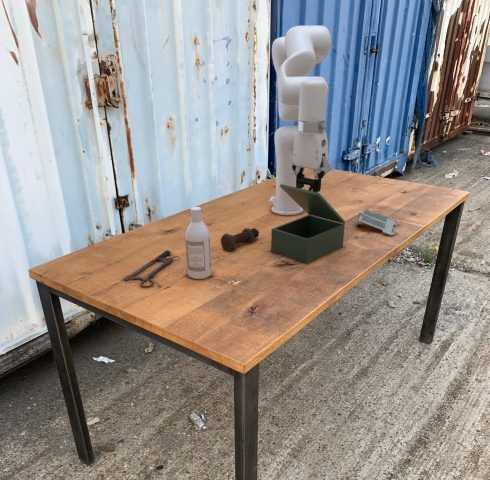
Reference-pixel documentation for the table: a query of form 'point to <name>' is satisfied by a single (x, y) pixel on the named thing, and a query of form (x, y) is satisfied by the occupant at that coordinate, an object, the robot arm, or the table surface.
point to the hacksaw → (154, 270)
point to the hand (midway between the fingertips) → (308, 189)
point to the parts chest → (307, 238)
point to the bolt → (238, 238)
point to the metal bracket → (376, 221)
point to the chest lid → (312, 201)
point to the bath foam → (198, 246)
